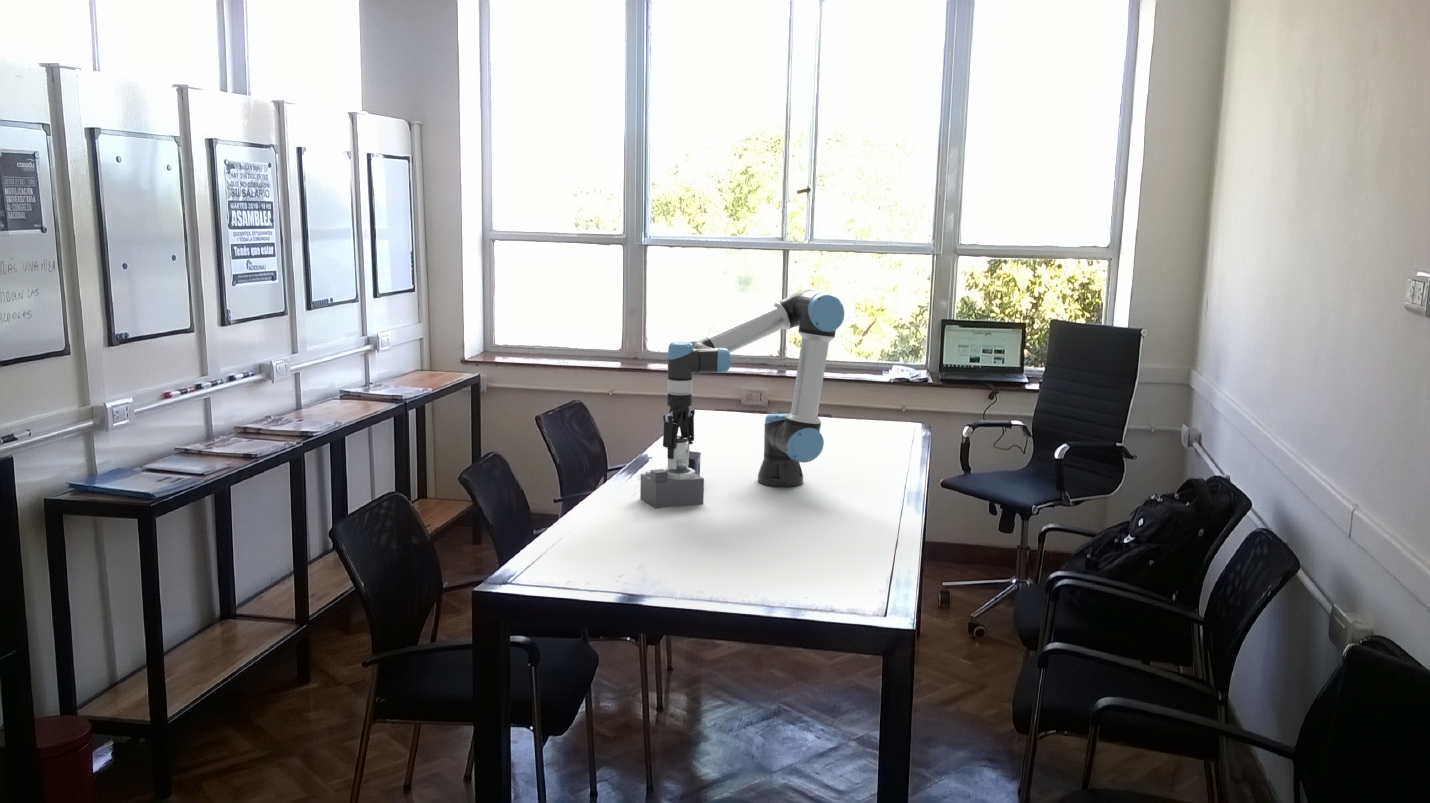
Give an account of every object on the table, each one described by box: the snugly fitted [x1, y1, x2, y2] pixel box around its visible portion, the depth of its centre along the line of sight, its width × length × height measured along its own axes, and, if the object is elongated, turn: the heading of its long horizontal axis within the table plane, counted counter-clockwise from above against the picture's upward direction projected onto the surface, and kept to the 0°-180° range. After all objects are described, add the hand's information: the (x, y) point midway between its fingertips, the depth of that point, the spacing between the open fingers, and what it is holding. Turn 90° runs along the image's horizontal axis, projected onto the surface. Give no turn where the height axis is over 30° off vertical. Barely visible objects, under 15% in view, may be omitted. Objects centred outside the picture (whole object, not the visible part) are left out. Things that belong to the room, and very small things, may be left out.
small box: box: [688, 450, 702, 477], centre depth 359 cm, size 11×6×10 cm, turn 168°
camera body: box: [639, 466, 705, 510], centre depth 339 cm, size 16×12×11 cm
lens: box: [668, 435, 688, 472], centre depth 338 cm, size 6×6×10 cm
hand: (678, 466), depth 339 cm, fingers closed on lens, 6 cm apart
